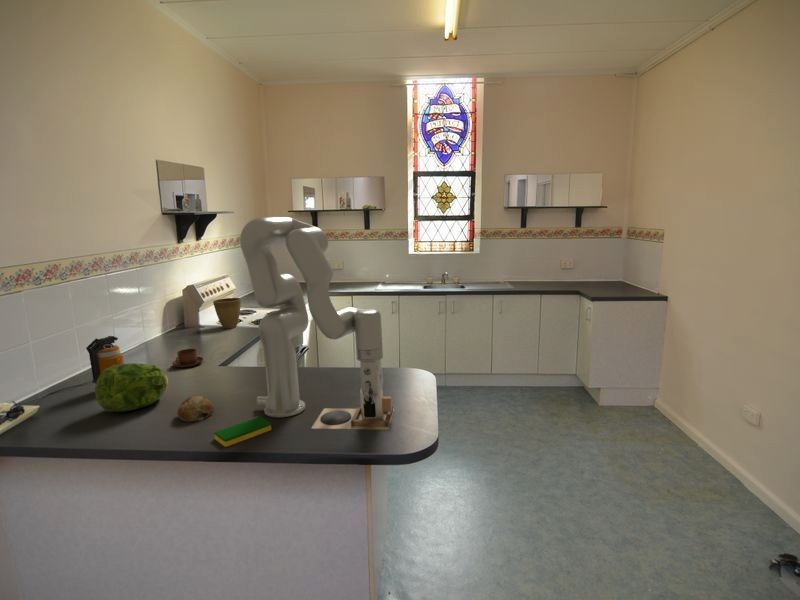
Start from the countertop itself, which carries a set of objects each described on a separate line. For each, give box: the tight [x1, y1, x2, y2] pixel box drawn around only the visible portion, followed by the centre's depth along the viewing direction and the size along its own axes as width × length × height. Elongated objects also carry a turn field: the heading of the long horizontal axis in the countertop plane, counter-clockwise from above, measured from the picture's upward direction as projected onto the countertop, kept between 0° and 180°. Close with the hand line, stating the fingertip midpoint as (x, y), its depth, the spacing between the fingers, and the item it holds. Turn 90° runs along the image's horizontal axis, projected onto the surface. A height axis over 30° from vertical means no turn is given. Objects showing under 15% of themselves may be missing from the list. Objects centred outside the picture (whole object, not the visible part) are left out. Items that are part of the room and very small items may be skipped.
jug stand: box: [310, 405, 395, 431], centre depth 139 cm, size 22×14×2 cm, turn 84°
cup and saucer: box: [172, 348, 204, 368], centre depth 201 cm, size 12×12×6 cm
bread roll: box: [176, 395, 214, 423], centre depth 147 cm, size 10×10×8 cm
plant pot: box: [212, 297, 242, 329], centre depth 269 cm, size 15×15×16 cm
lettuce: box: [94, 362, 169, 413], centre depth 156 cm, size 16×21×15 cm
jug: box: [359, 388, 393, 420], centre depth 137 cm, size 9×6×9 cm
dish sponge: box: [213, 416, 272, 448], centre depth 133 cm, size 7×14×2 cm, turn 134°
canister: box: [85, 335, 125, 384], centre depth 171 cm, size 9×11×20 cm
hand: (372, 409), depth 137 cm, fingers open, 9 cm apart
